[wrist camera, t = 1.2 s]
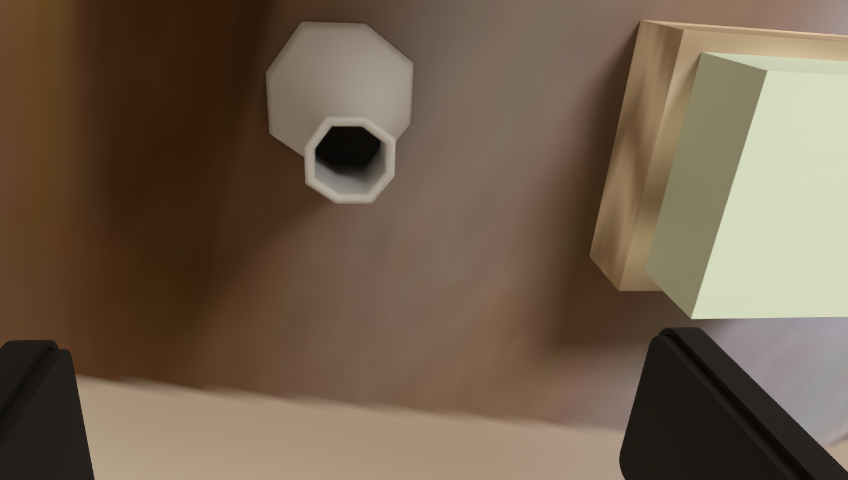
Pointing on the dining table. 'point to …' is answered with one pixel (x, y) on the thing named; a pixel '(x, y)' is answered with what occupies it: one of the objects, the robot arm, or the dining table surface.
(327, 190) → the flask
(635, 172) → the birch base block
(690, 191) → the sage top block
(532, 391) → the dining table surface
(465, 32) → the dining table surface
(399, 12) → the dining table surface
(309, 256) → the dining table surface
